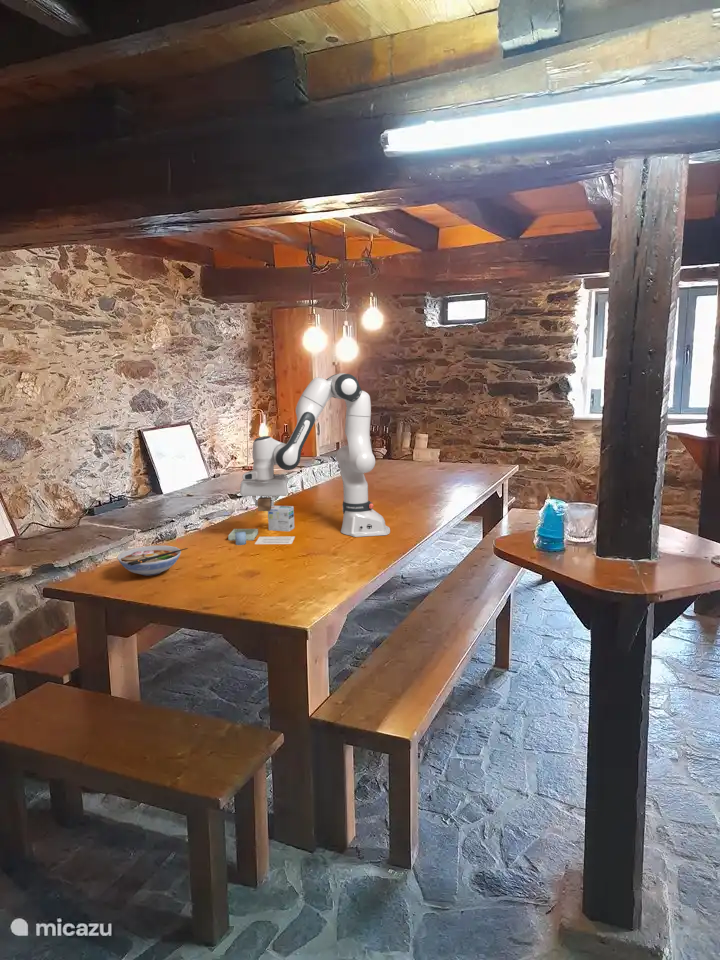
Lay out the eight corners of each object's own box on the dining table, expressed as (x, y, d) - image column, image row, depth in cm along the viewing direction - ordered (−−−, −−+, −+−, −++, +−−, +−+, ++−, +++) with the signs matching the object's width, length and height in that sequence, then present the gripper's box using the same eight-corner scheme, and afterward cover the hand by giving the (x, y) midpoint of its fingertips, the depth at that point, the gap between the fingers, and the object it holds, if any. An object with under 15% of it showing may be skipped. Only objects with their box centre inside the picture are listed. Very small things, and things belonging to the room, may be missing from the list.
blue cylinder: (247, 542, 286) (246, 531, 285) (245, 545, 281) (244, 534, 280) (236, 542, 286) (236, 531, 285) (234, 545, 281) (234, 534, 280)
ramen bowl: (161, 559, 264) (160, 539, 262) (197, 570, 249) (196, 549, 248) (103, 575, 245) (101, 554, 243) (138, 588, 230) (136, 565, 229)
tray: (258, 534, 299) (257, 528, 299) (253, 540, 288) (253, 535, 288) (234, 534, 299) (233, 528, 299) (228, 540, 289) (228, 535, 288)
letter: (295, 536, 294) (295, 536, 293) (291, 544, 282) (291, 543, 282) (259, 537, 294) (259, 536, 294) (254, 544, 282) (254, 544, 282)
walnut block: (271, 508, 288) (270, 497, 287) (269, 511, 283) (269, 499, 282) (259, 508, 288) (259, 497, 287) (257, 511, 283) (257, 499, 282)
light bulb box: (294, 528, 308) (294, 505, 306) (289, 532, 302) (288, 509, 300) (273, 527, 311) (272, 504, 309) (268, 530, 305) (267, 507, 303)
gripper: (288, 473, 286) (289, 504, 288) (241, 473, 286) (242, 504, 288) (286, 475, 279) (287, 507, 282) (238, 475, 280) (239, 507, 282)
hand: (264, 505), depth 285 cm, fingers closed on walnut block, 5 cm apart
